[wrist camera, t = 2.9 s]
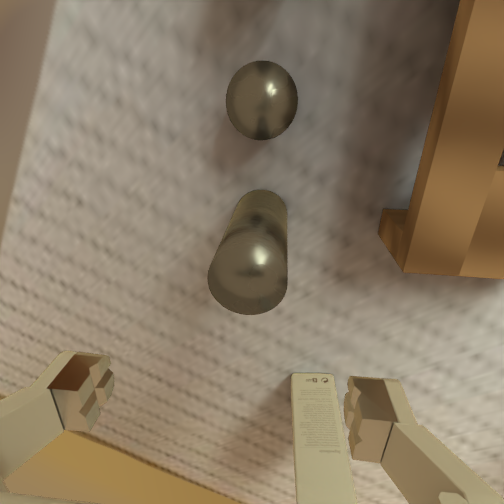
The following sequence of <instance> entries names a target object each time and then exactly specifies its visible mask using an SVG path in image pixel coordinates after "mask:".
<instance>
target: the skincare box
mask: <svg viewBox="0 0 504 504" xmlns="http://www.w3.org/2000/svg"><path fill="white" fill-rule="evenodd" d="M291 413H292V435H293V455H294V472H295V487H296V502H297V504H357V498H356V493H355V487H354V482H353V477H352V472H351V467H350V462H349V457H348V451H347V446H346V440H345V435H344V429H343V424H342V419H341V413H340V408H339V402H338V397H337V392H336V386H335V381H334V377H333V375H332V374H320V373H293V374H292V376H291Z"/></svg>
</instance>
